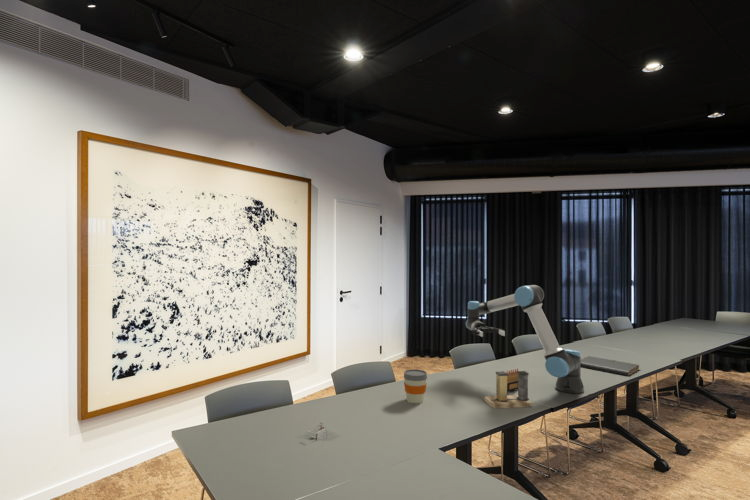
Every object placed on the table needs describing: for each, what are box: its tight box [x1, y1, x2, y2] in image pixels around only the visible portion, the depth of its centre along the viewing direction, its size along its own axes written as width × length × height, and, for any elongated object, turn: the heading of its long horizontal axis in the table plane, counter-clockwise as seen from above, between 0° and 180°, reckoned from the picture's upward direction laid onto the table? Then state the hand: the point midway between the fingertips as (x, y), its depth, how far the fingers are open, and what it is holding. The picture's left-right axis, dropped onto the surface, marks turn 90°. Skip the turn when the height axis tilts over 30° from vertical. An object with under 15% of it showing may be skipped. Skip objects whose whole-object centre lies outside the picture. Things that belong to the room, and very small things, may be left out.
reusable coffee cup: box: [403, 368, 428, 404], centre depth 226 cm, size 13×12×15 cm
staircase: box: [308, 422, 327, 441], centre depth 180 cm, size 6×4×6 cm, turn 141°
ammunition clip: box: [505, 368, 519, 393], centre depth 243 cm, size 11×2×12 cm, turn 123°
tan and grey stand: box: [483, 370, 533, 409], centre depth 222 cm, size 22×12×16 cm, turn 98°
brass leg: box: [495, 370, 508, 401], centre depth 221 cm, size 5×5×14 cm
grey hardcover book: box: [581, 355, 640, 377], centre depth 292 cm, size 33×4×24 cm
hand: (493, 334), depth 246 cm, fingers open, 13 cm apart
